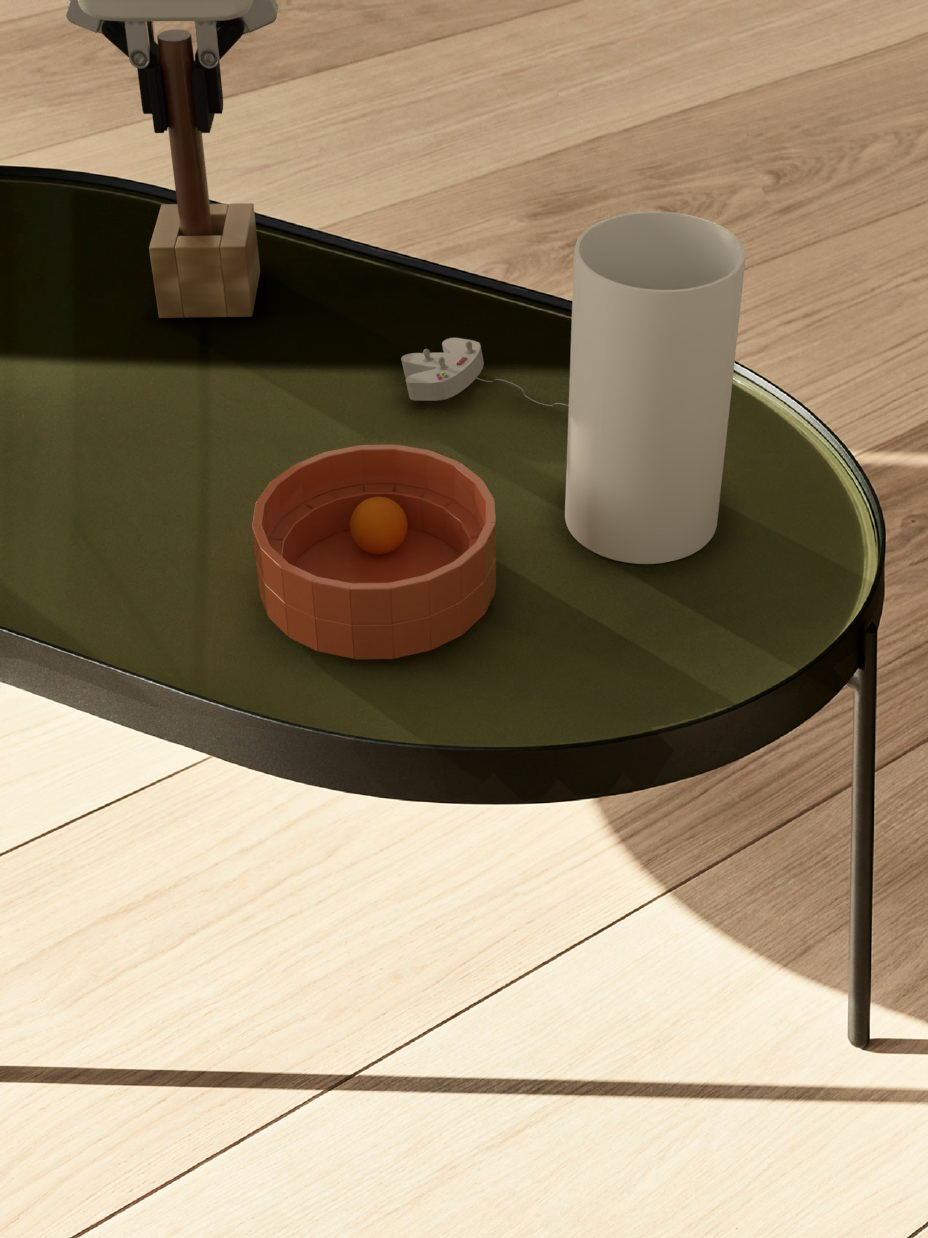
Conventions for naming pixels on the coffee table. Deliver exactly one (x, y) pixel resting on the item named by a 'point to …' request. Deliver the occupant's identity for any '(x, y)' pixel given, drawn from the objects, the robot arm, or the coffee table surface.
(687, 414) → the cup
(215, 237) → the holder
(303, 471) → the bowl
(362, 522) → the ball
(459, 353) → the game controller
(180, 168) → the stick
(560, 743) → the coffee table surface
